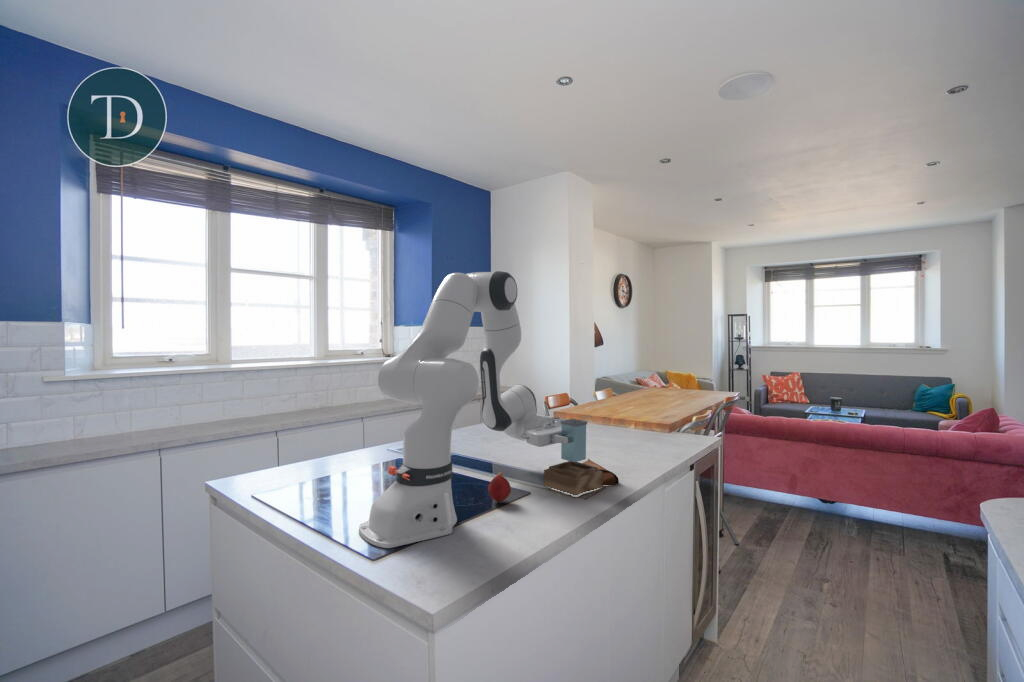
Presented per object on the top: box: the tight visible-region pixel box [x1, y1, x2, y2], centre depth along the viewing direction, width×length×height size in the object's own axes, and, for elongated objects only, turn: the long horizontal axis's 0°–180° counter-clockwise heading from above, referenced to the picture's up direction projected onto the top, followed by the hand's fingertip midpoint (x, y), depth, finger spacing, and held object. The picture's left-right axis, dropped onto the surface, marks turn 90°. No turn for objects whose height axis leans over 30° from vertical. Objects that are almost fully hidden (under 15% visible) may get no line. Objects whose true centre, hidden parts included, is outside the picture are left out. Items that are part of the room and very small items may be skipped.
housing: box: [560, 418, 588, 462], centre depth 137 cm, size 5×5×11 cm
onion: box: [487, 472, 512, 503], centre depth 125 cm, size 6×6×8 cm
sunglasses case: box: [582, 458, 620, 486], centre depth 147 cm, size 18×7×7 cm
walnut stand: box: [543, 460, 604, 495], centre depth 137 cm, size 12×12×6 cm
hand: (576, 438), depth 136 cm, fingers closed on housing, 5 cm apart
